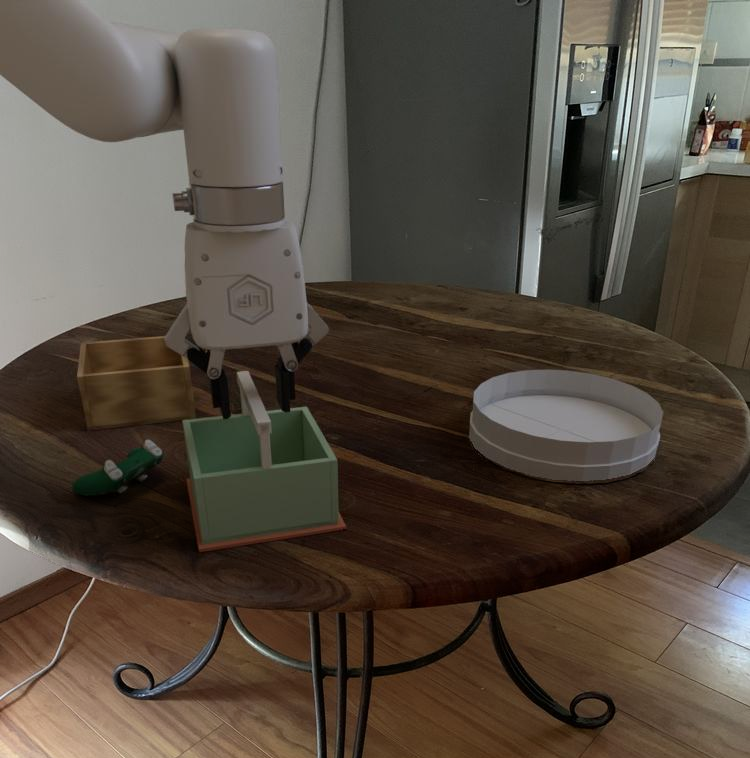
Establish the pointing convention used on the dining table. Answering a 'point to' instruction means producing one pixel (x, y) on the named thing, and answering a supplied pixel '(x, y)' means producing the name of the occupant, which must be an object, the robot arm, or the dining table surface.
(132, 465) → the green toy car
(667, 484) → the dining table surface
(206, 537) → the top basket
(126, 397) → the box
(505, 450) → the dish
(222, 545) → the mat
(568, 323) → the dining table surface
